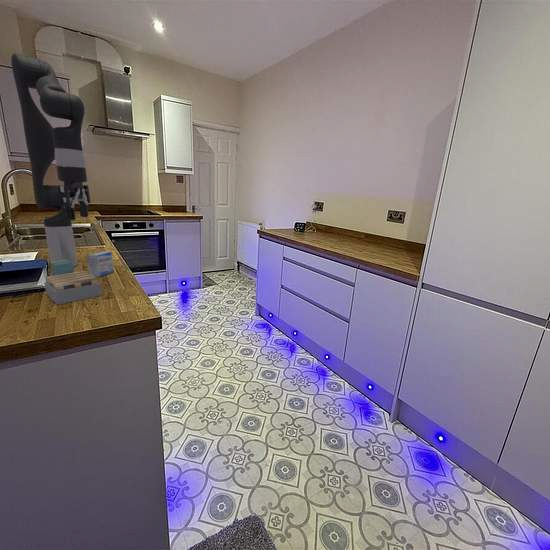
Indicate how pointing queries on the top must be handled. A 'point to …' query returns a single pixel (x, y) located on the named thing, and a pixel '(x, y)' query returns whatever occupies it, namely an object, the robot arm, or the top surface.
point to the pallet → (71, 279)
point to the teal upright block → (61, 267)
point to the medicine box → (100, 263)
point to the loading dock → (73, 292)
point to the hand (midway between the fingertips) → (78, 218)
